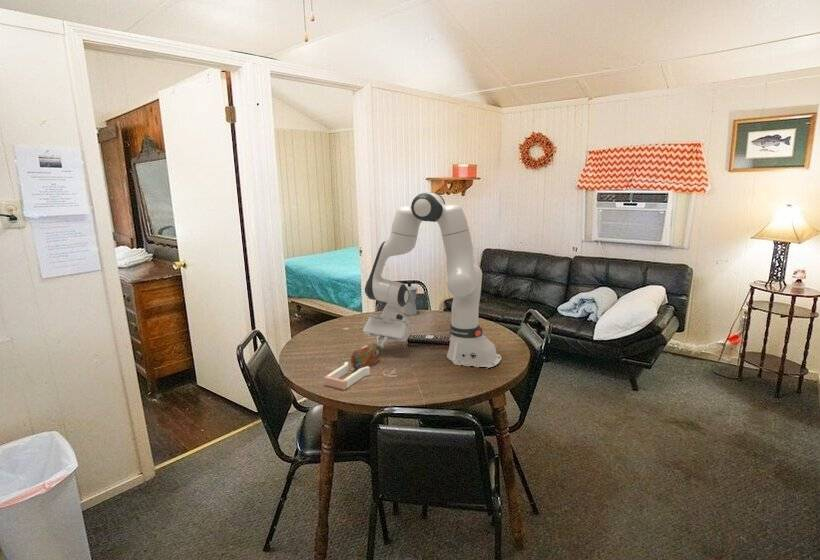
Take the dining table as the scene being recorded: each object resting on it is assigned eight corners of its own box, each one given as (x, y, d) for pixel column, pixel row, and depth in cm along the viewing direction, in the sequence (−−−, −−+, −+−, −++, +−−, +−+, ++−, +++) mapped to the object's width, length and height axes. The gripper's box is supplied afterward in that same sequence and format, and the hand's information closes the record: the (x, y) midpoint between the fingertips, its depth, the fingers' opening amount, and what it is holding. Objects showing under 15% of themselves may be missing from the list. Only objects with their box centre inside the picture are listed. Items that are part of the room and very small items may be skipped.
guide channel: (371, 374, 169) (370, 366, 168) (347, 390, 155) (347, 383, 155) (345, 368, 174) (345, 361, 173) (321, 384, 161) (320, 376, 160)
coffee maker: (423, 314, 244) (423, 282, 240) (411, 317, 238) (411, 285, 233) (404, 308, 254) (404, 278, 250) (393, 311, 248) (392, 280, 244)
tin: (355, 373, 169) (355, 353, 168) (349, 371, 171) (349, 351, 169) (381, 360, 181) (380, 341, 179) (375, 359, 183) (375, 340, 181)
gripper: (367, 311, 193) (355, 339, 187) (408, 317, 184) (397, 347, 178) (373, 318, 198) (361, 345, 192) (413, 324, 189) (403, 353, 182)
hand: (379, 346), depth 184 cm, fingers closed
